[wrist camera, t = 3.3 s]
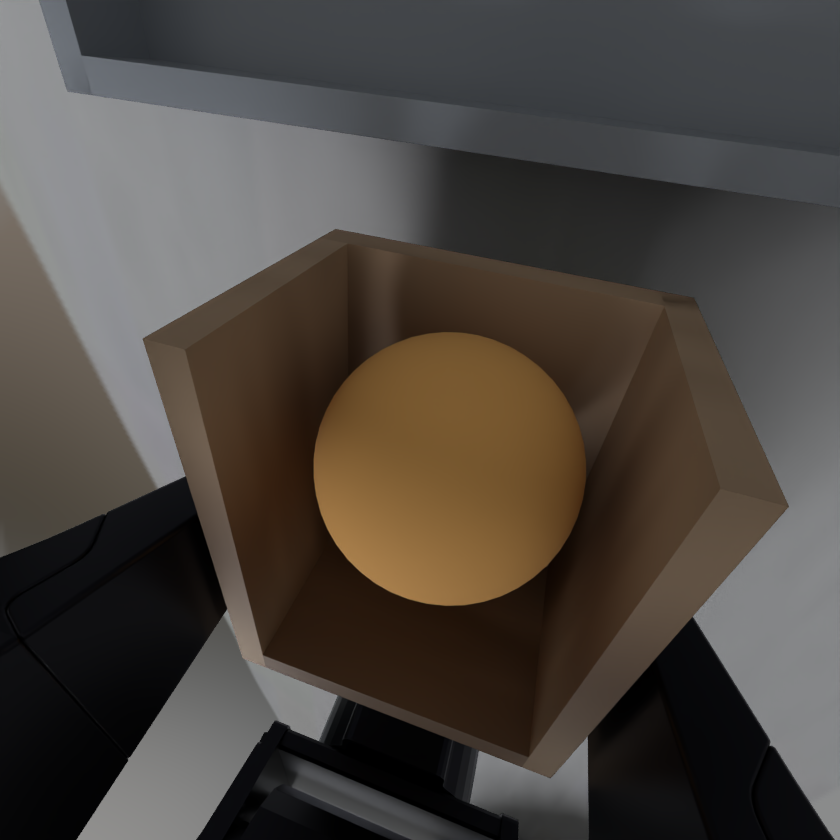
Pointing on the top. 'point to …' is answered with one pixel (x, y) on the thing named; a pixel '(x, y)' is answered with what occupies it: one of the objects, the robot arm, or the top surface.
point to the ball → (449, 468)
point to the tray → (498, 78)
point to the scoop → (553, 586)
